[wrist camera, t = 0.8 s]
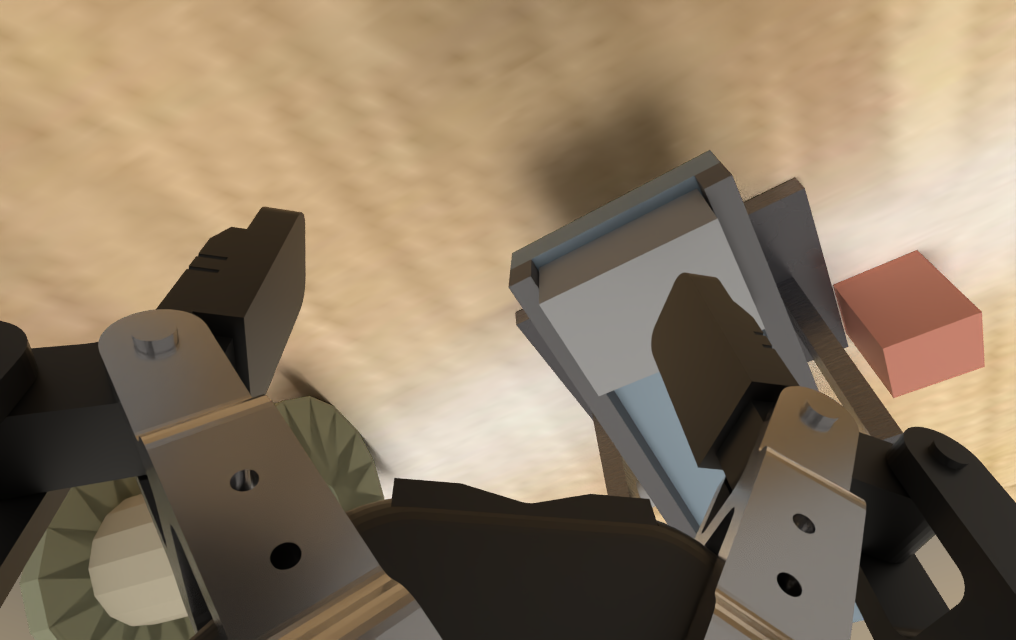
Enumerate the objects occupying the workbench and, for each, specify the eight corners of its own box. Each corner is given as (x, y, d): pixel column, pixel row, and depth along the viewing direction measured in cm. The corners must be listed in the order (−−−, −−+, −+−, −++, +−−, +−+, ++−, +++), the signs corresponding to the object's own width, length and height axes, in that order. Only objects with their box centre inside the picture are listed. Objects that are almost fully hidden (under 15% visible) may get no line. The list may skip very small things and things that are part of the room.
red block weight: (832, 284, 36) (882, 348, 32) (916, 249, 35) (981, 312, 30) (845, 332, 39) (893, 398, 35) (923, 302, 38) (984, 366, 33)
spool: (285, 354, 39) (204, 570, 27) (395, 469, 48) (369, 667, 37) (102, 420, 42) (-36, 635, 31) (237, 515, 52) (169, 707, 40)
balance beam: (493, 263, 25) (483, 317, 21) (734, 136, 22) (776, 174, 18) (735, 624, 39) (756, 697, 35) (906, 582, 36) (950, 658, 32)
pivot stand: (515, 312, 37) (528, 487, 27) (795, 177, 31) (939, 336, 21) (604, 425, 45) (639, 591, 35) (839, 334, 39) (960, 502, 29)
